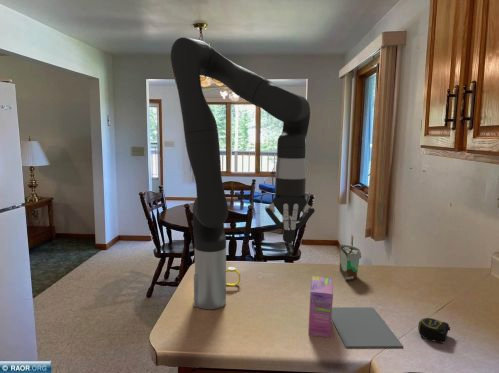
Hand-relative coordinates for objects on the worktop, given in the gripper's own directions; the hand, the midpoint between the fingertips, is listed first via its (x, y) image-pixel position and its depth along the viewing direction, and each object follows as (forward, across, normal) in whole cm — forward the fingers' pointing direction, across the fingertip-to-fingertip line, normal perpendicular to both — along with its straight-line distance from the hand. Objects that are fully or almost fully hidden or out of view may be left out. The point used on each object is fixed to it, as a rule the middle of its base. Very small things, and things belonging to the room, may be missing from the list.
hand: (288, 243), depth 96 cm
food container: (+23, +28, +35) cm, 50 cm away
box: (+23, +9, 0) cm, 25 cm away
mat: (+23, +20, 0) cm, 30 cm away
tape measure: (+23, +38, -5) cm, 44 cm away
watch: (+23, -15, +27) cm, 39 cm away
